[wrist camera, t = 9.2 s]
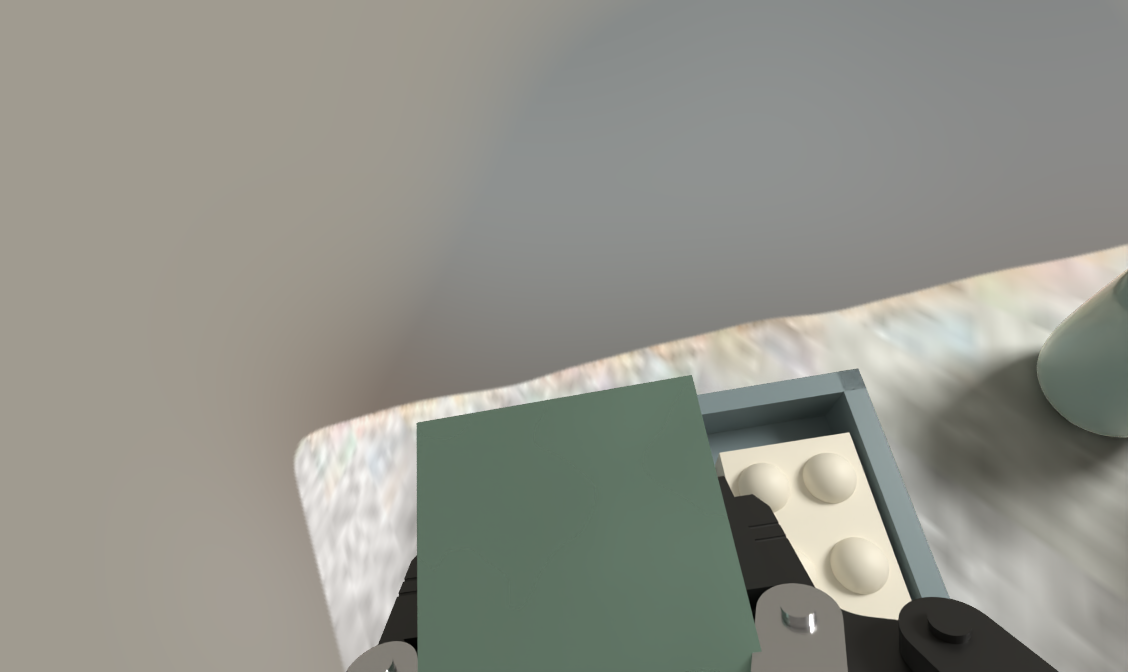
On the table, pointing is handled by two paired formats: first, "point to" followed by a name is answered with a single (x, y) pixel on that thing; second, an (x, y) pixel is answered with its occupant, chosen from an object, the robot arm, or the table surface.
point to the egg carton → (825, 518)
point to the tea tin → (578, 539)
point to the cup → (1091, 363)
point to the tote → (826, 412)
